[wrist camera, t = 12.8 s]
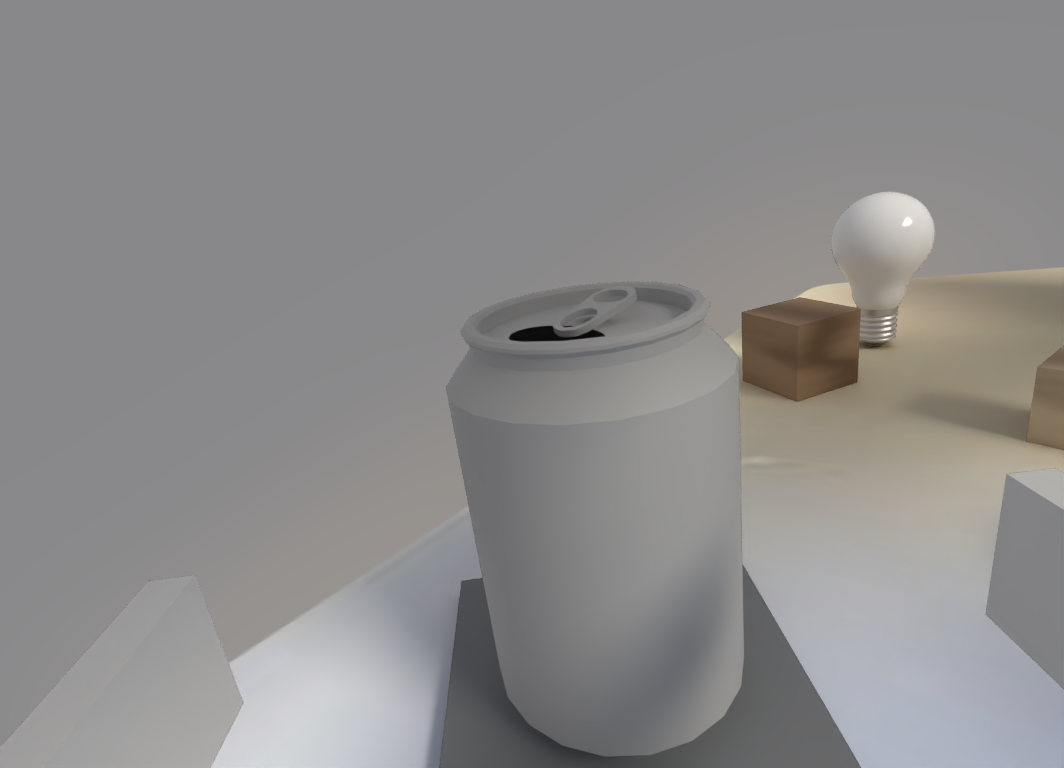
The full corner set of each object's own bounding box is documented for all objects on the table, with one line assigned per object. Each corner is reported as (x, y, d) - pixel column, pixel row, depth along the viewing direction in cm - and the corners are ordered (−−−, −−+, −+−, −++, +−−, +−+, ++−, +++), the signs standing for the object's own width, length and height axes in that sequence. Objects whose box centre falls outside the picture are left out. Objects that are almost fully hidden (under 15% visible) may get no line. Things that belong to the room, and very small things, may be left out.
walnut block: (798, 365, 44) (799, 297, 42) (857, 383, 40) (860, 308, 38) (742, 381, 43) (741, 312, 41) (796, 402, 38) (798, 325, 36)
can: (458, 677, 20) (378, 324, 16) (610, 565, 24) (579, 266, 20) (636, 844, 14) (584, 369, 10) (792, 660, 19) (798, 276, 15)
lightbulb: (926, 333, 46) (940, 182, 43) (923, 360, 41) (938, 193, 38) (834, 331, 50) (839, 191, 46) (821, 355, 45) (826, 201, 41)
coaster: (731, 557, 25) (731, 545, 25) (890, 839, 14) (892, 821, 14) (464, 592, 25) (461, 580, 25) (430, 896, 15) (425, 879, 14)
